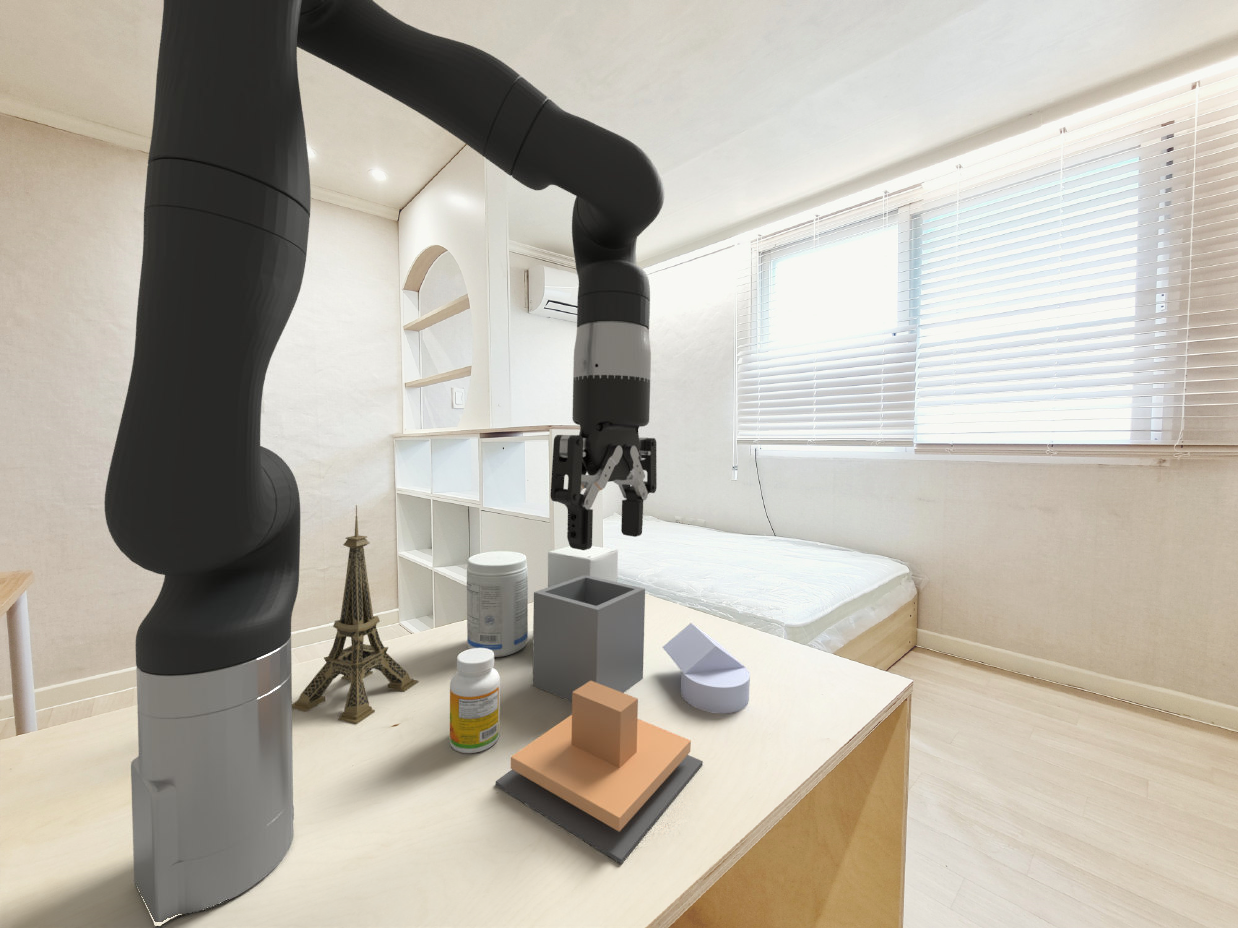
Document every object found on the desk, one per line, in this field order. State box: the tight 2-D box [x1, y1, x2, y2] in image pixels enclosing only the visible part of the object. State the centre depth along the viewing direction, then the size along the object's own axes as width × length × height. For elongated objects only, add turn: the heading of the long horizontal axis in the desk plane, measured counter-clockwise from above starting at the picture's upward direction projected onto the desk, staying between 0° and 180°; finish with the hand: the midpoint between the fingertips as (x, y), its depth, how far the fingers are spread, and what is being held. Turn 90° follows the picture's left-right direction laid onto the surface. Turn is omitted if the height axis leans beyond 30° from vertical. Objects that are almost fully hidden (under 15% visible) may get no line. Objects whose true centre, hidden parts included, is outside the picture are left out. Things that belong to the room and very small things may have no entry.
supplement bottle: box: [449, 648, 501, 754], centre depth 55 cm, size 5×5×10 cm
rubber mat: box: [495, 754, 703, 865], centre depth 50 cm, size 15×15×1 cm
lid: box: [510, 681, 692, 832], centre depth 49 cm, size 13×13×8 cm
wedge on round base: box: [662, 622, 751, 714], centre depth 68 cm, size 9×7×13 cm
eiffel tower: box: [292, 504, 419, 725], centre depth 63 cm, size 11×11×25 cm
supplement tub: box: [466, 550, 529, 658], centre depth 79 cm, size 10×10×15 cm
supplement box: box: [547, 545, 619, 588], centre depth 84 cm, size 9×9×15 cm
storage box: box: [532, 575, 646, 703], centre depth 68 cm, size 11×11×13 cm
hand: (607, 541), depth 48 cm, fingers open, 8 cm apart
